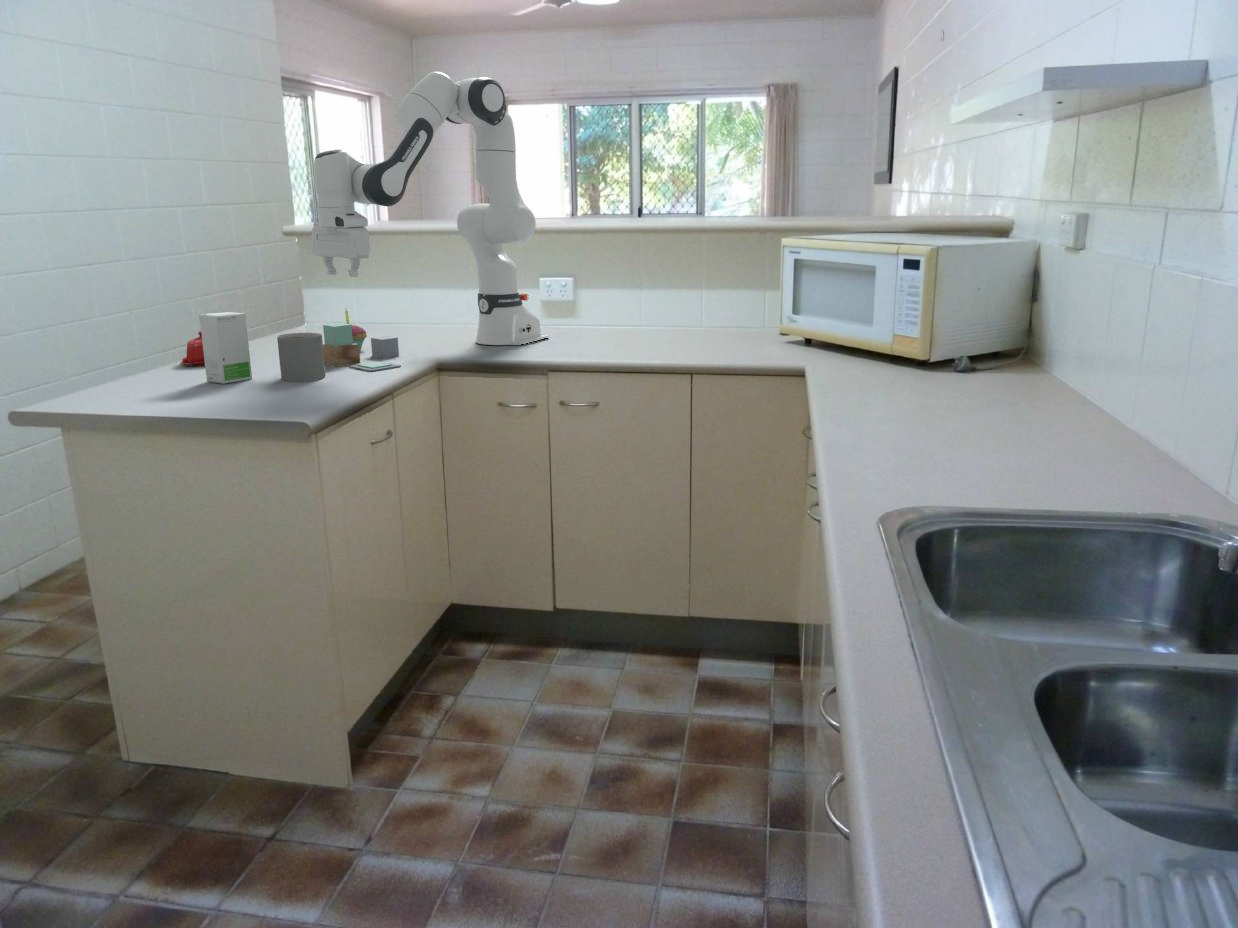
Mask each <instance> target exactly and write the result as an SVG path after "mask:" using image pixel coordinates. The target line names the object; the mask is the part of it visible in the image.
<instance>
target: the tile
mask: <svg viewBox="0 0 1238 928" xmlns="http://www.w3.org/2000/svg"><path fill="white" fill-rule="evenodd" d="M401 367H402V365H401V364H395V363H391V362H385V361H380V360H379V361H373V362H366V363H358V364H352V365H348V368H350V369H354V370H360V371H364V372H369V373H373V372H379V371H385V370H389V369H396V368H401Z"/></svg>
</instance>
